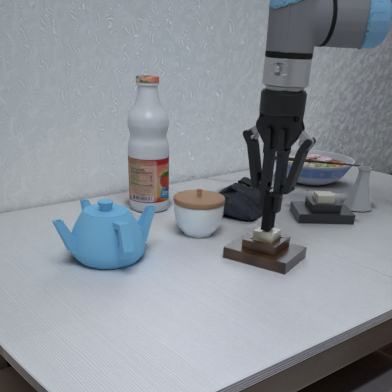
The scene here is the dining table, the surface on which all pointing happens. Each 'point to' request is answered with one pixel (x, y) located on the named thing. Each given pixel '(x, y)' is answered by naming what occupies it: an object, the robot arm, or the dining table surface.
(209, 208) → the trinket box
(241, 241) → the block
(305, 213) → the block
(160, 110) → the fruit juice
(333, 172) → the ramen bowl
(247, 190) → the dark slate chunk
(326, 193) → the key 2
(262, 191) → the robot arm
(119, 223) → the teapot
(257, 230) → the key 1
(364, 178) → the flask
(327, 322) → the dining table surface
